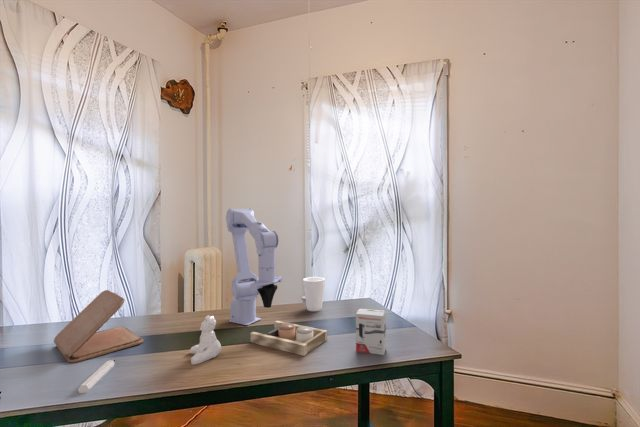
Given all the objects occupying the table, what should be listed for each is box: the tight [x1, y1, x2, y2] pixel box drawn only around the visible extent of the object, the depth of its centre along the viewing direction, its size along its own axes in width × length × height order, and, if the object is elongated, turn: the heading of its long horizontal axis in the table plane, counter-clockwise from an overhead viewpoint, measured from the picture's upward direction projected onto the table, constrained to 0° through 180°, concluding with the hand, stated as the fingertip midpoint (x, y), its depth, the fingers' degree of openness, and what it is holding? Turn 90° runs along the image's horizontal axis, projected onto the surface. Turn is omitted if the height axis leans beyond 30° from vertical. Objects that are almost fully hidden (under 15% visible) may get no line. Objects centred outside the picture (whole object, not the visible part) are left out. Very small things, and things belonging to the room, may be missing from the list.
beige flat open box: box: [250, 320, 329, 356], centre depth 108 cm, size 21×14×3 cm
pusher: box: [266, 328, 278, 337], centre depth 111 cm, size 4×10×4 cm, turn 150°
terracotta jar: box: [278, 322, 296, 341], centre depth 109 cm, size 6×6×5 cm
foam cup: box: [302, 276, 326, 312], centre depth 143 cm, size 10×9×13 cm
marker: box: [77, 359, 116, 394], centre depth 86 cm, size 3×2×16 cm
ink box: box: [355, 308, 387, 356], centre depth 100 cm, size 8×5×12 cm, turn 72°
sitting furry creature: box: [189, 314, 222, 366], centre depth 98 cm, size 10×9×12 cm
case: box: [53, 289, 144, 364], centre depth 107 cm, size 20×21×16 cm
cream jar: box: [295, 325, 313, 343], centre depth 105 cm, size 6×6×5 cm
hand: (267, 307), depth 113 cm, fingers closed
